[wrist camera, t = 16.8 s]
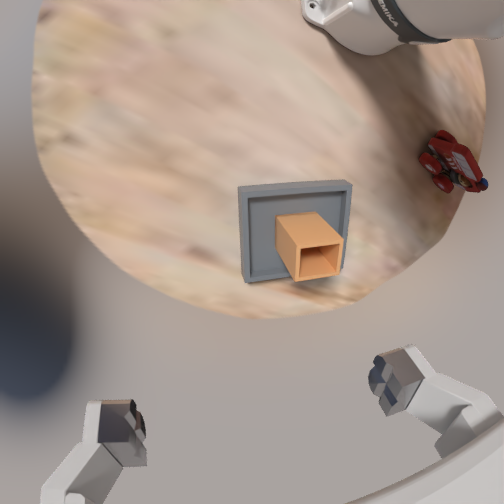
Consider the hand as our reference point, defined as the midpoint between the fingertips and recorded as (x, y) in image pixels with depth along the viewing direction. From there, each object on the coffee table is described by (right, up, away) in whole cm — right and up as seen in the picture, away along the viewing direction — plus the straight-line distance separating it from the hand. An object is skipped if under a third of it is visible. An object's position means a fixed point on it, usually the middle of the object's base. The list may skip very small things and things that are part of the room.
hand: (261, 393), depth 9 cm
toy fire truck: (+31, +20, +37) cm, 52 cm away
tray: (+6, +8, +37) cm, 38 cm away
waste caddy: (+6, +8, +36) cm, 37 cm away
